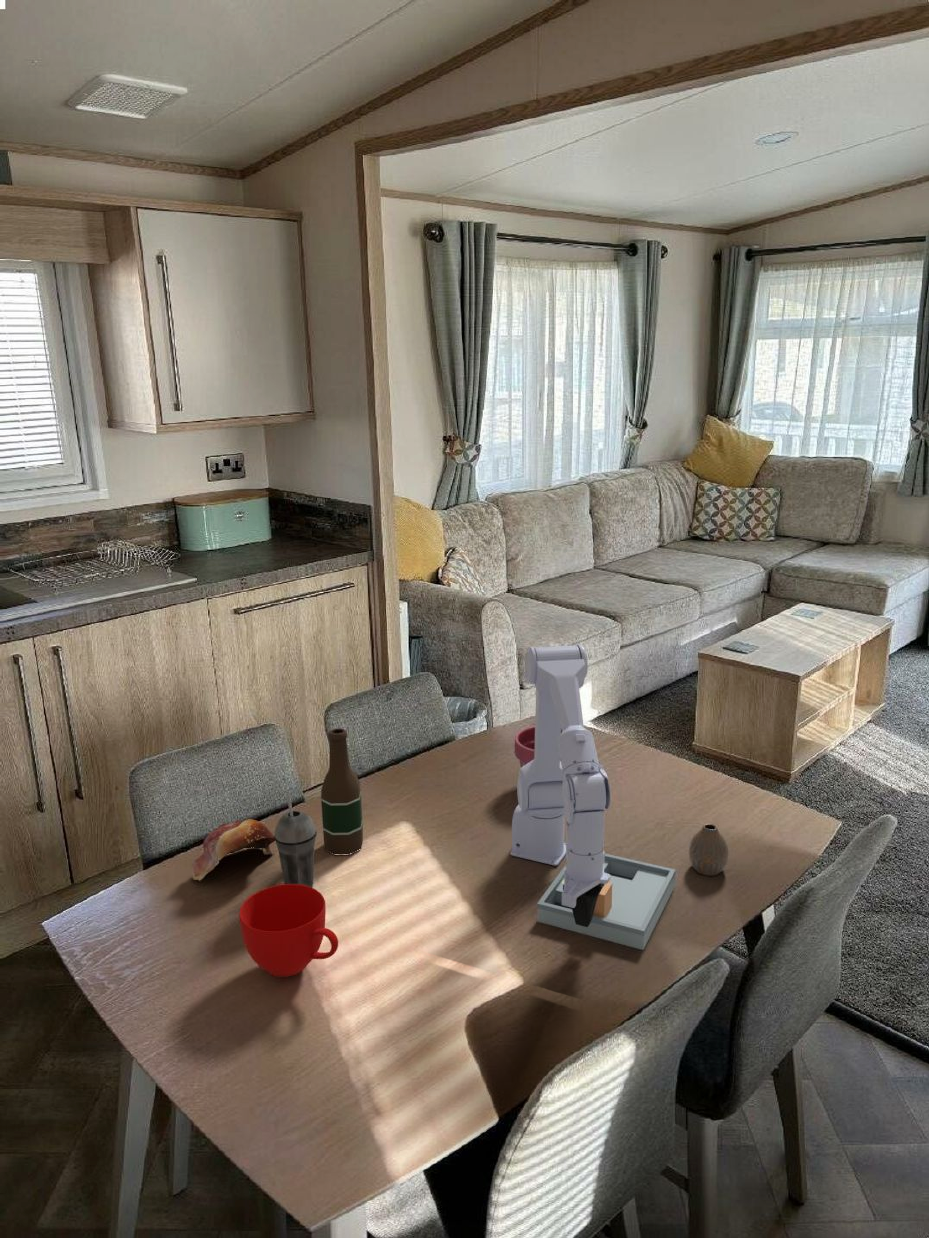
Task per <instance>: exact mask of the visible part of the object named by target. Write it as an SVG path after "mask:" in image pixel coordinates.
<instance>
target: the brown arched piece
mask: <svg viewBox="0 0 929 1238" xmlns="http://www.w3.org/2000/svg"><path fill="white" fill-rule="evenodd" d="M274 835H275V834H273V832H271V831H270V830H269V828H268V827H267V826H266V825H265V824H263V823H262V822H260V821H258V820H256V819H253V818H251V819H246V820H243V821H242V820H239V819H237V820H235V821H233V822H230V823H223V824H219V825H218V827H216V828H214V829H213V830H212V831H211V832H209V834H208V835H206V836H207V837H206V838H204V840H203V845H202V848H203V853H202V854H201V855H200V856H199V857H198V858H196V859H195V860H194V861H193V863H192V865H193V872H194V873H195V875H194V876H195V878H198V879H199V882H200V881H202V880H203V879H204V878H205V876H206V875H207V874H208V873H210V872H212V871H213V870H214V869H215V868H216V866H218V865H219V863H220V861H221V860H222V859H223V858H224V857H226V856H225V855H227V854H229V853H233V854H234V853H236V852H239V851H242V850H244V849H243V848H251V847H252V848H253V847H254V848H255V849H256V848H262V849H261V850H262V852H263V854H264V855H273V854H272V852H273V851H272V850H271V849H270V845H271V844H273V843H274V842H276V841H275V839H274ZM241 849H242V850H241ZM271 851H272V852H271ZM227 856H228V855H227Z"/></svg>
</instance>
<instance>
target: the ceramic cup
mask: <svg viewBox="0 0 929 1238" xmlns="http://www.w3.org/2000/svg"><path fill="white" fill-rule="evenodd" d="M326 909H327V908H326V900H325V897H324V895H322V893H321V892H320V891H318V890H317V889H316V888H312V887H309V886H305V885H299V884H284V883H283V884H277V885H273V886H270V887H266V888H264V889H262V890H261V889H260V890H258V891H256V892H255V893H253V894H252V895H250V896H249V897H248V898H246V900H245V901H244V902H243V903H242V904H241V906H240V908H239V912H238V913H239V915H238V918H239V925H240V931H241V936H242V940H243V942H244V946H245V949H246V950H247V952H248V954H249V956H250V957H251V959H252V960H253V961H254V963H255V964H256V965H257V966H258V967H260V968H261V969H262V970H264V971H266V972H267V973H268V974H270V975H271V976H274V977H280V978H284V977H285V978H286V977H290V976H294V975H297V974H299V973H300V972H302V971H304V970H305V969H306V968H307V966H308V965H309V964H310V963H311V962H312V961H313V960H326V959H328V958H331V957H332V956H333V955H334V954H335V953H336V952H337V950H338V947H339V939H338V937H337V934H336V933H335V932H334V931H333V930H331V929H329V928H327V927H325V926H326V914H327V913H326ZM324 937H326V938H327V939H328V940H329V943H330V951H326V952H321V951H320V952H319V950H320V947H321V945H322V942H323V939H324Z"/></svg>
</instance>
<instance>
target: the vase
mask: <svg viewBox="0 0 929 1238" xmlns="http://www.w3.org/2000/svg"><path fill="white" fill-rule="evenodd" d="M688 857H689V863H690V864H691V866H692V867H693V869H695V871H696V872H697V873H699V874H700V875H704V876H710V877H711V876H716V875H718V874H720V873H721V872H723V870H725V868H726V866H727V865H728V864H727V863H728V861H729V847H728V844H727V841H726V839H725V837H724V836H723V835H722V834H721V832H720V831H719V829H718V826H717V825H716V824H713V823H705V824H703V826H702V827H701V829H700V830H699V831H698V832H697V833H696V834H695V835H694V836H693V837H692V838H691V841H690V843H689V846H688Z"/></svg>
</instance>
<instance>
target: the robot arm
mask: <svg viewBox="0 0 929 1238" xmlns="http://www.w3.org/2000/svg"><path fill="white" fill-rule="evenodd" d="M588 663H589V662H588V655H587V652H586V649H585V647H583V645H582V644H580V643H579V644H576V645H558V646H557V645H556V646H555V645H554V646H540V647H539V646H537V647H533V646H529V647H528V648H527V649H526V651H525V653H524V680H525V683H527V684H529V685H534V686H535V687H534V688H535V714H534V716H535V718H534V719H535V721H534V724H535V725H534V726H535V754H534V760H532V761H531V762H529V763H527V764H526V765H524V766H523V767H521V766H520V768H519V772H518V778H517V779H518V780H517V785H516V786H517V788H516V794H517V801H518V805H517V806H516V807H515V809H514V811H513V815H512V819H511V820H512V821H511V851H510V853H509V854H510V855H511V856H513V857H517V858H521V859H525V860H530V861H534V862H538V863H541V864H542V863H543V864H545V865H546V864H547V865H552V866H555V867H556V866H558V865H559V864H560V863H561V861H562V860H563V858H564V857H565V865H566V868H565V871H564V885H563V893H562V905H564V906H568V907H571V908H572V911H573V915H574V919H575V923H576V924H577V925H580V926H584V927H588V926H589V925H590V923H591V920H592V917H593V913H594V909H595V905H596V902H597V899H598V896H599V894H600V892H601V890H602V888H603V886H604V885H605V884H607V883H608V882H609V880H610V874H607V873H605V872H604V862H605V854H606V851H604V847H605V846H604V844H605V841H604V840H605V815H606V814H605V811H606V810H609V808H610V806H611V800H612V799H611V797H612V796H611V793H612V792H611V785H610V780H609V777H608V775H607V772H606V771H605V769H604V766H603V764H600V761H599V757H598V753H597V749H596V748H597V746H596V745H595V739H594V735H593V733H592V732H591V731H590V730H588V729H587V728H585V727H584V725H585V724H584V720H583V719H584V718H583V711H582V709H583V708H582V703H581V693H580V689H581V688H583V687H584V683H585V680H586V677H587V675H588V668H589V666H588ZM561 730H562V733H561ZM560 760H561V761H560ZM565 820H566V834H565ZM565 835H566V837H565ZM565 839H566V840H565ZM565 841H566V842H565Z"/></svg>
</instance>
